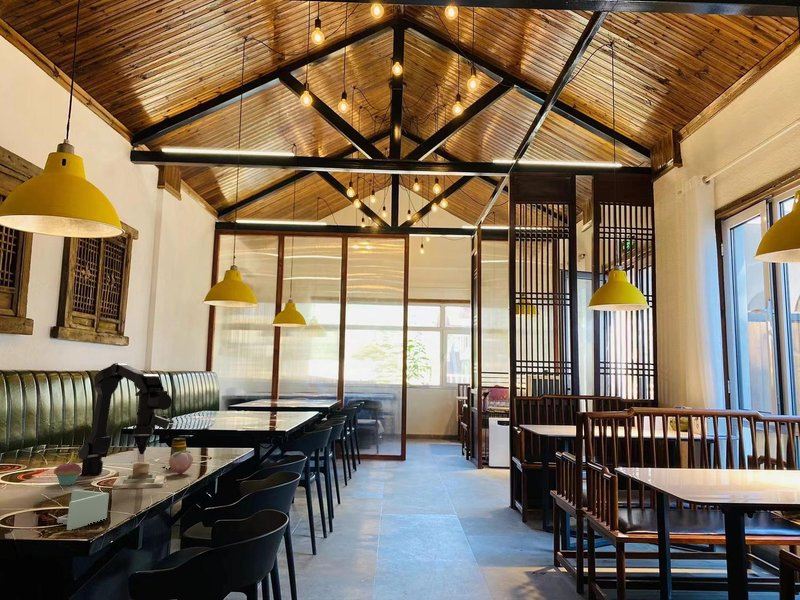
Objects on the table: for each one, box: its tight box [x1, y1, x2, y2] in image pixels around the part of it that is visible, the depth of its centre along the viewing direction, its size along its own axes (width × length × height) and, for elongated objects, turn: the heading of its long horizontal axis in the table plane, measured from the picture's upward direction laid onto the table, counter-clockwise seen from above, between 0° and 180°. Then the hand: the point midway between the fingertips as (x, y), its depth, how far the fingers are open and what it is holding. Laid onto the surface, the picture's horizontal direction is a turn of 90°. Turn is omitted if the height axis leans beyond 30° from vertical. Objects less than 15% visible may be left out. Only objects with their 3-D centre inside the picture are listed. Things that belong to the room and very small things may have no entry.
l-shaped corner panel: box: [56, 489, 110, 531], centre depth 150 cm, size 12×12×8 cm
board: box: [111, 473, 166, 490], centre depth 202 cm, size 16×16×2 cm
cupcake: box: [53, 449, 82, 486], centre depth 199 cm, size 9×8×12 cm
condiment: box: [162, 437, 187, 468], centre depth 237 cm, size 7×8×12 cm
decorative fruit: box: [168, 449, 194, 475], centre depth 221 cm, size 9×8×10 cm
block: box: [131, 461, 151, 479], centre depth 202 cm, size 5×5×6 cm
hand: (142, 452), depth 203 cm, fingers open, 9 cm apart
